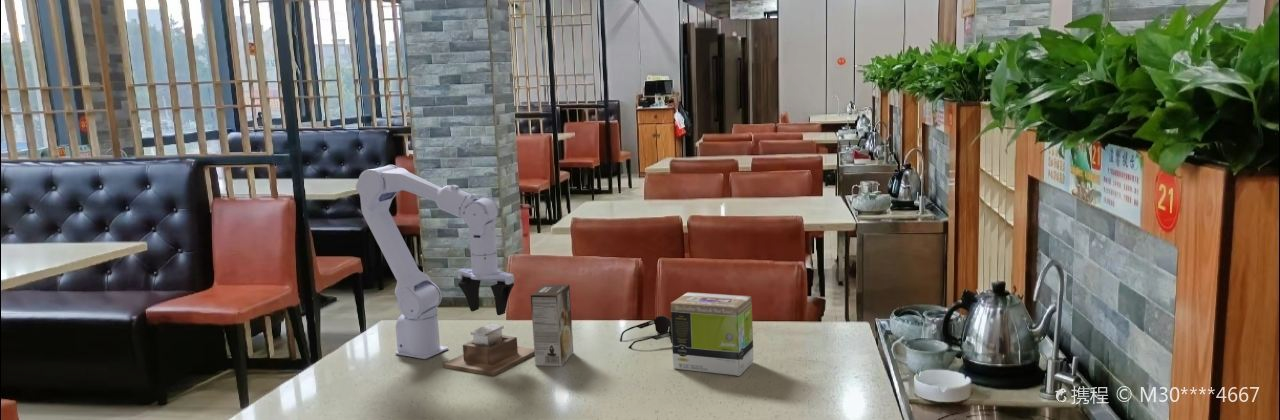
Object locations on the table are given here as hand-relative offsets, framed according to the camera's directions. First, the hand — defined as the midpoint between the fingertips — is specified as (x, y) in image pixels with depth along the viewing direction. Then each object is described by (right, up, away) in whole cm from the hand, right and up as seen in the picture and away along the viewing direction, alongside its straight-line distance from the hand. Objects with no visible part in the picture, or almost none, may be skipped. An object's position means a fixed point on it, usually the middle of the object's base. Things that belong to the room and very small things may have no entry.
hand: (487, 312), depth 194 cm
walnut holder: (+1, -11, -1) cm, 11 cm away
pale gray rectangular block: (+1, -10, -1) cm, 10 cm away
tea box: (+50, -10, -10) cm, 52 cm away
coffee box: (+15, -10, -2) cm, 18 cm away
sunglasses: (+36, -8, +8) cm, 38 cm away
